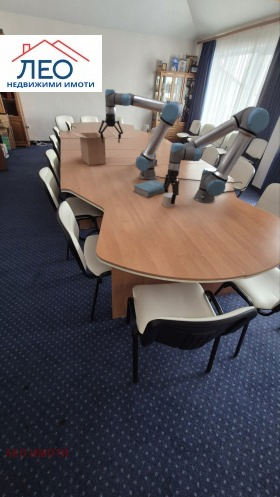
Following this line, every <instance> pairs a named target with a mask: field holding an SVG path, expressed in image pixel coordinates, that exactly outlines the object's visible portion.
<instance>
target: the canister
mask: <svg viewBox="0 0 280 497" xmlns="http://www.w3.org/2000/svg"><path fill="white" fill-rule="evenodd" d="M172 195H173V192H168V193H164V192H163V196H162V206H163V207H165V208H174V207H175V204H176V203H175V204H171V199H172Z"/></svg>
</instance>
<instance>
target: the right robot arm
mask: <svg viewBox="0 0 280 497" xmlns="http://www.w3.org/2000/svg"><path fill="white" fill-rule="evenodd" d="M269 122H270V114H269V112H268V110H266V109H265V108H263V107H259V106H255V105H254V106H253V105H252V106H251V105H250V106H247V107H244V108H243V109H241V110H239V111H238V112H236V113H234V114H233V115H231V116H230V118H229V119H227V120H225V121H224V122H223V123H220V124H219V125H217V126H215V127H214V128H212V129H210V130H209V131H207V132H205V133H203V134H202V135H200V136H199V137H197V138H195V139H193V140H191V141H190V142H185V143H184V144H183V143H181V142H173V143H172V144H170V145H171V146H170V151H169V158H168V166H167V172H166V174H165V177H166V178H164V181H163V184H164V185H163V187H164V189H165V191H164V192H163V194H164V193H169V187H170V186H171V191H172V193H173V195H172V199H171V204H176V199H177V196H179V190H180V187H179V186H180V179H177V178H178V177H179V175H180V170H181V162H182V161H188V162H200V161H201V159H202V154H203V152H202V151H203V150H202V149H204V148H206V147H208V146H209V145H211V144H213V143H215V142H217V141H219V140H220V139H222V138H223V137H226V136H227V135H229V134H231V133H232V132H237V135H236V136H235V138H234V139H233V141H232V143H231V144H230V146H229V148H228V149H227V151H226V153H225V154H224V156H223V158H222V159H221V161H220V163H219V164H218V166H217V168H216V169H214V168H204V169H202V173H201V177H200V180H201V181H199V186H198V189H197V191H196V193H195V194H194V197H193V198H194V200H195V201H196V202H198V203H202V204H212V203H214V202H215V198H216V197H217V196H220V195H222V194H224V193H232V192H239V191H242V190H245V189H247V187H246V186H244V187H243V188H239V189H234V190H233V189H232V190H227V191H225V190H226V184H227V183H226V182H229V175H230V173H231V172H232V170H233V169H234V167H235V165H236V164H237V162H238V161H239V159H240V158H241V156H242V155H243V153H244V152H245V150H246V148H247V147H248V145H249V143H250V142H251V140H252V139H255V138H256V137H257V136H258V134H260V132H263V131H264V130H265V129H266V128H267V126H268V125H269Z"/></svg>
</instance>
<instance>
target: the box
mask: <svg viewBox="0 0 280 497" xmlns="http://www.w3.org/2000/svg"><path fill="white" fill-rule="evenodd" d="M70 133H71V134H72V135H74V136H75V137H77V138H79V144H80V153H81V160H83V162H85V163H86V165H87V166H95V165H97V166H98V165H106V163H107V162H106V158H107V157H106V138H113V137H114V136H113V135H111V134H109V133H108V132H105V131H104V132H103V133H102V134H103V143H102V138H101V134H100V133H99V132H98V131H97V132H96V131H95V130H92V129H91V130H77V132H76V131H70Z"/></svg>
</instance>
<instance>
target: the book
mask: <svg viewBox="0 0 280 497" xmlns="http://www.w3.org/2000/svg"><path fill="white" fill-rule="evenodd" d="M163 185H164V182H160V181H159V180H156V179H153V180H146V181H143V182H140V183H137V184H134V185H133V193H135V194H138V195H140V196H142V197H145V198H150V197H153V196H156V195H159V194H161V193H164V191H165V189H164V187H163Z"/></svg>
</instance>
